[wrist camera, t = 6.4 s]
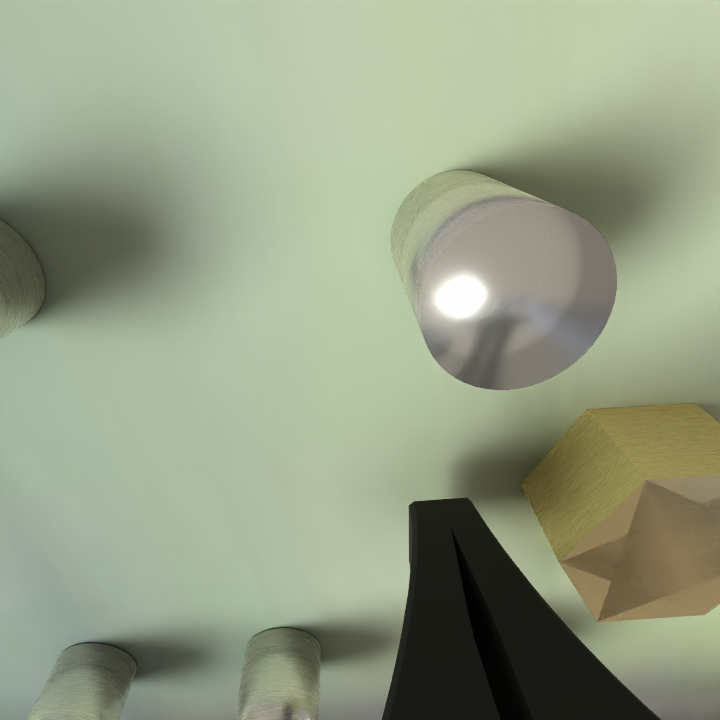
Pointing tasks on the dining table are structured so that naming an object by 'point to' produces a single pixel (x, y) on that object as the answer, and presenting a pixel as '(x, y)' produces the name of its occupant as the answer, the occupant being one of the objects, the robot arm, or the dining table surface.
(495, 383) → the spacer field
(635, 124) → the dining table surface
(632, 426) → the wooden star block
